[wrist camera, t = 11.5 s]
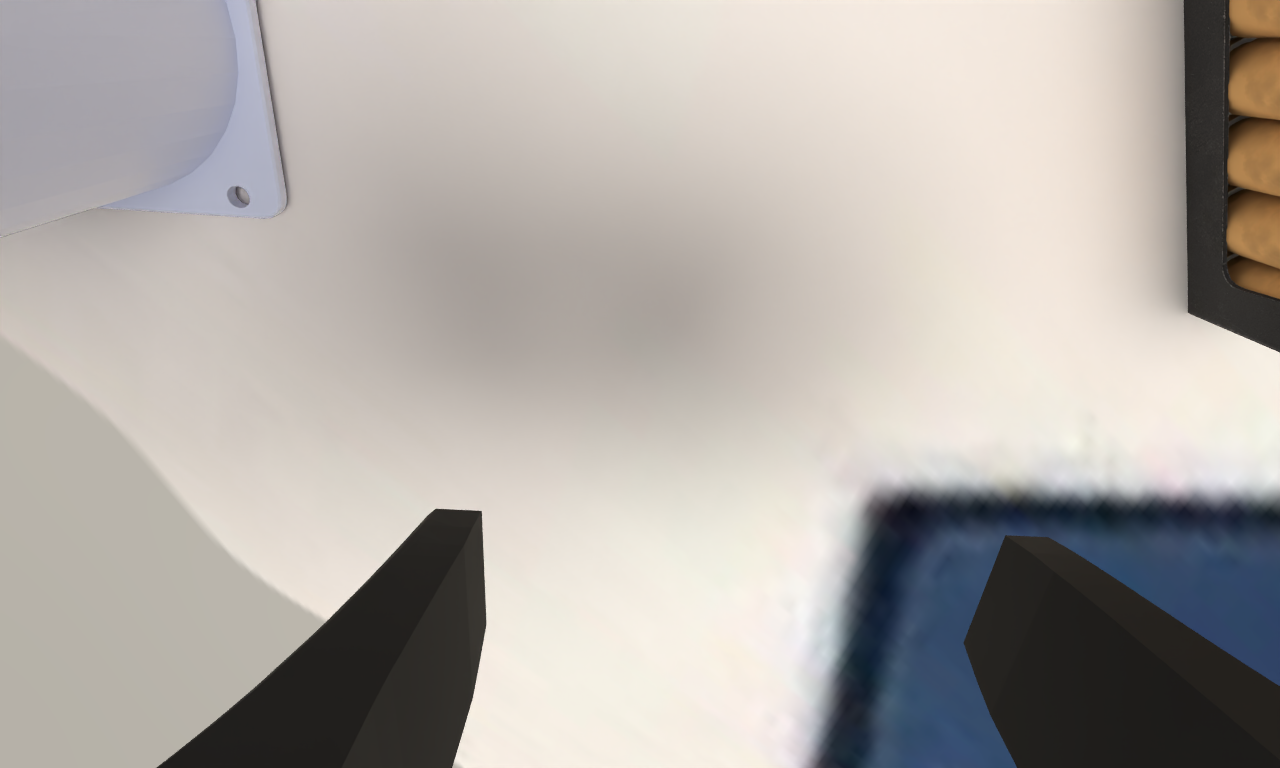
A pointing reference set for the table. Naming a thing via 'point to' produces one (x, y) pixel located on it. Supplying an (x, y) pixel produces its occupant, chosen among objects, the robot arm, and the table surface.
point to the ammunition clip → (1233, 165)
